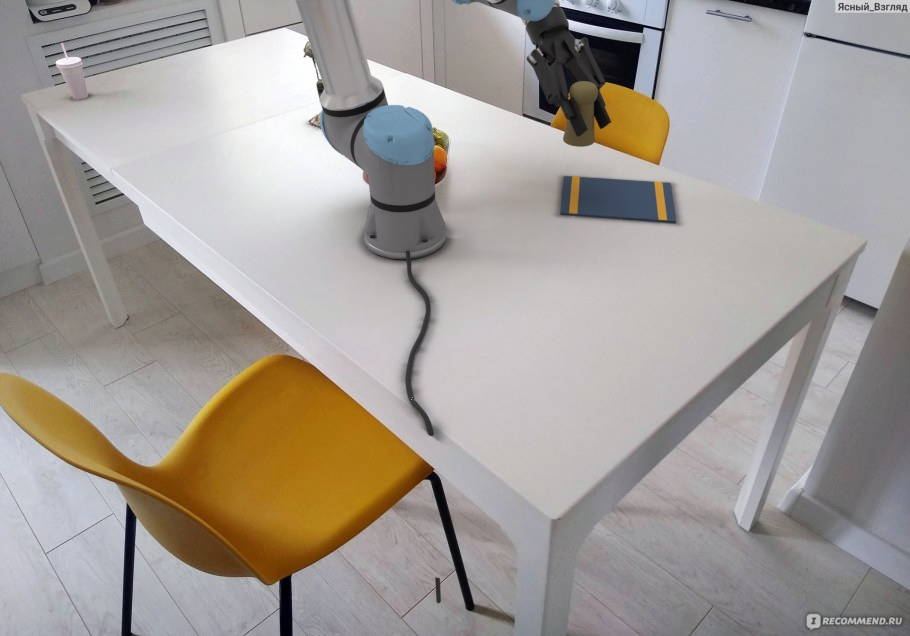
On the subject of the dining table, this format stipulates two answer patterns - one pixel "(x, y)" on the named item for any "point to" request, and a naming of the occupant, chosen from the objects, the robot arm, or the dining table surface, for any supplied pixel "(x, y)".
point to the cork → (582, 113)
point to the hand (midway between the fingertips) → (594, 129)
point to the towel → (617, 199)
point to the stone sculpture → (319, 83)
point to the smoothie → (73, 75)
